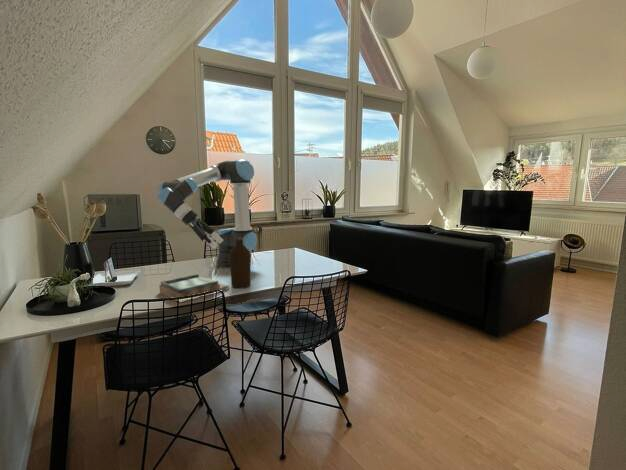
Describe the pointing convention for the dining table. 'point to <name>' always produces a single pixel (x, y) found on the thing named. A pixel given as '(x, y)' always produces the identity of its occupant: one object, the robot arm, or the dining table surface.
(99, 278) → the salad plate
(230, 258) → the olive oil
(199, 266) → the dining table surface
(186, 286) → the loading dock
